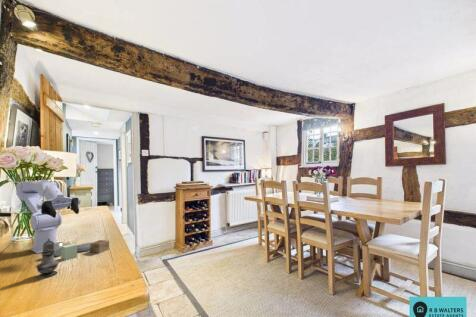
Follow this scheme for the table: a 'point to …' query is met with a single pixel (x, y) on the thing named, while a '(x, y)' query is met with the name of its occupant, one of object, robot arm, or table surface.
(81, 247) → the coaster
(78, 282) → the table surface
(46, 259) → the dark grey tall piece
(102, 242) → the walnut block
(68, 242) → the terracotta block
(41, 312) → the table surface
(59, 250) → the grey tin
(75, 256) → the sage block
